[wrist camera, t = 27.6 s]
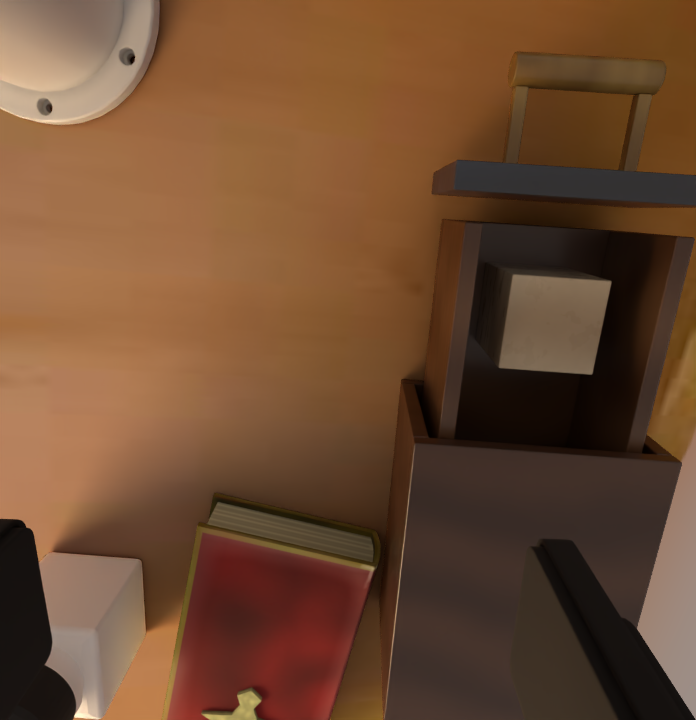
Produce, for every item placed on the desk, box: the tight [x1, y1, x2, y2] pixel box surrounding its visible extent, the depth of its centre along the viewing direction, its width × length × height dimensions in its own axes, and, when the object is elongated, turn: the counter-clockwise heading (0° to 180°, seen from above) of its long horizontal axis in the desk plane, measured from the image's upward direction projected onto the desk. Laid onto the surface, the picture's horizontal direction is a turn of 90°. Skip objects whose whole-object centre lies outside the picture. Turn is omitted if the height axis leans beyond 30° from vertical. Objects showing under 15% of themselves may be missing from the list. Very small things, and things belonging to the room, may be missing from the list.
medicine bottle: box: [8, 552, 146, 720], centre depth 33 cm, size 7×7×12 cm
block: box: [476, 262, 611, 375], centre depth 27 cm, size 5×5×6 cm
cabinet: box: [379, 379, 682, 720], centre depth 31 cm, size 18×13×10 cm
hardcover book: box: [162, 493, 381, 720], centre depth 38 cm, size 12×21×4 cm, turn 166°
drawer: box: [421, 51, 696, 453], centre depth 27 cm, size 21×11×8 cm, turn 176°
